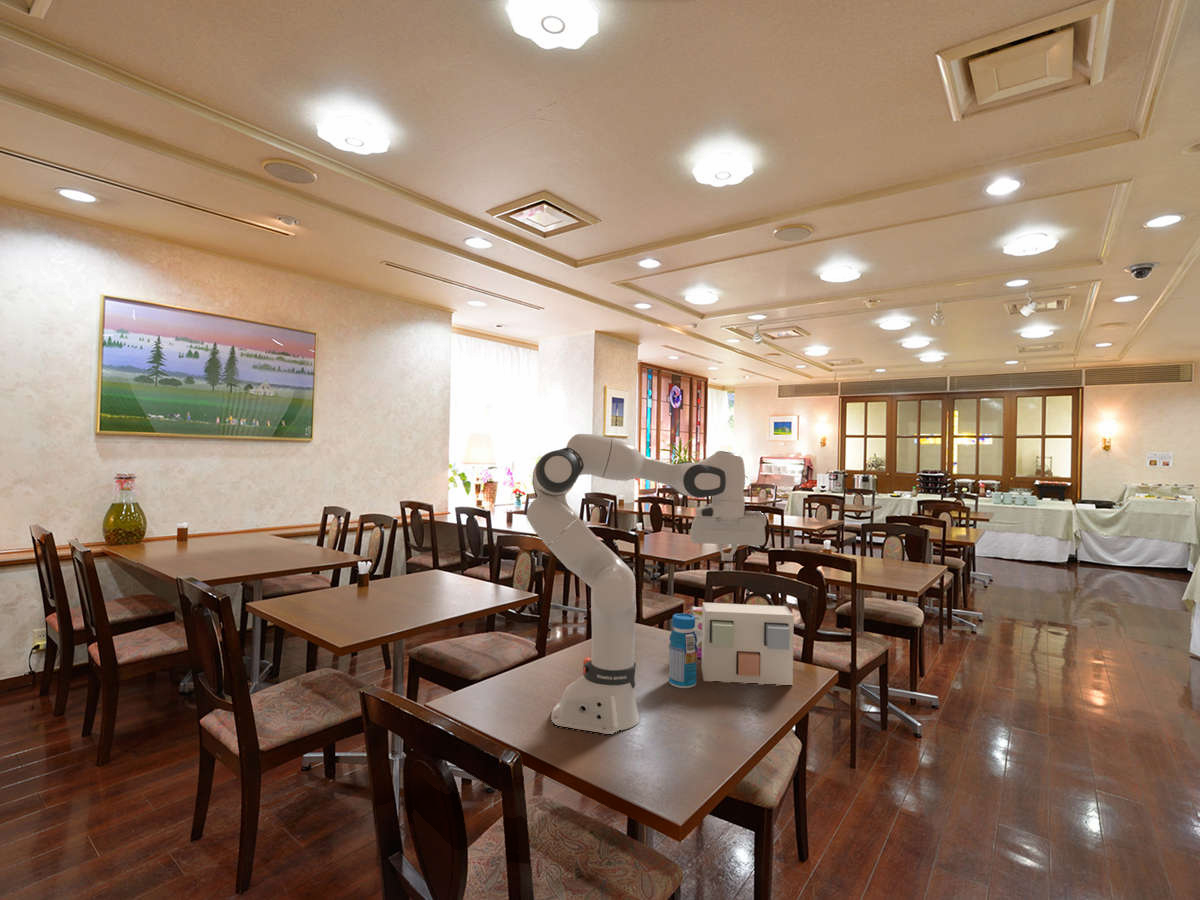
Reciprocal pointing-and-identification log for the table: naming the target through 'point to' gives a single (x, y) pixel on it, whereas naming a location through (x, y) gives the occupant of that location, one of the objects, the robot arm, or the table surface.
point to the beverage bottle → (683, 652)
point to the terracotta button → (747, 663)
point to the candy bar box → (698, 628)
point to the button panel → (746, 643)
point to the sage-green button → (722, 633)
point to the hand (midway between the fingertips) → (727, 560)
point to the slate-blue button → (777, 636)
